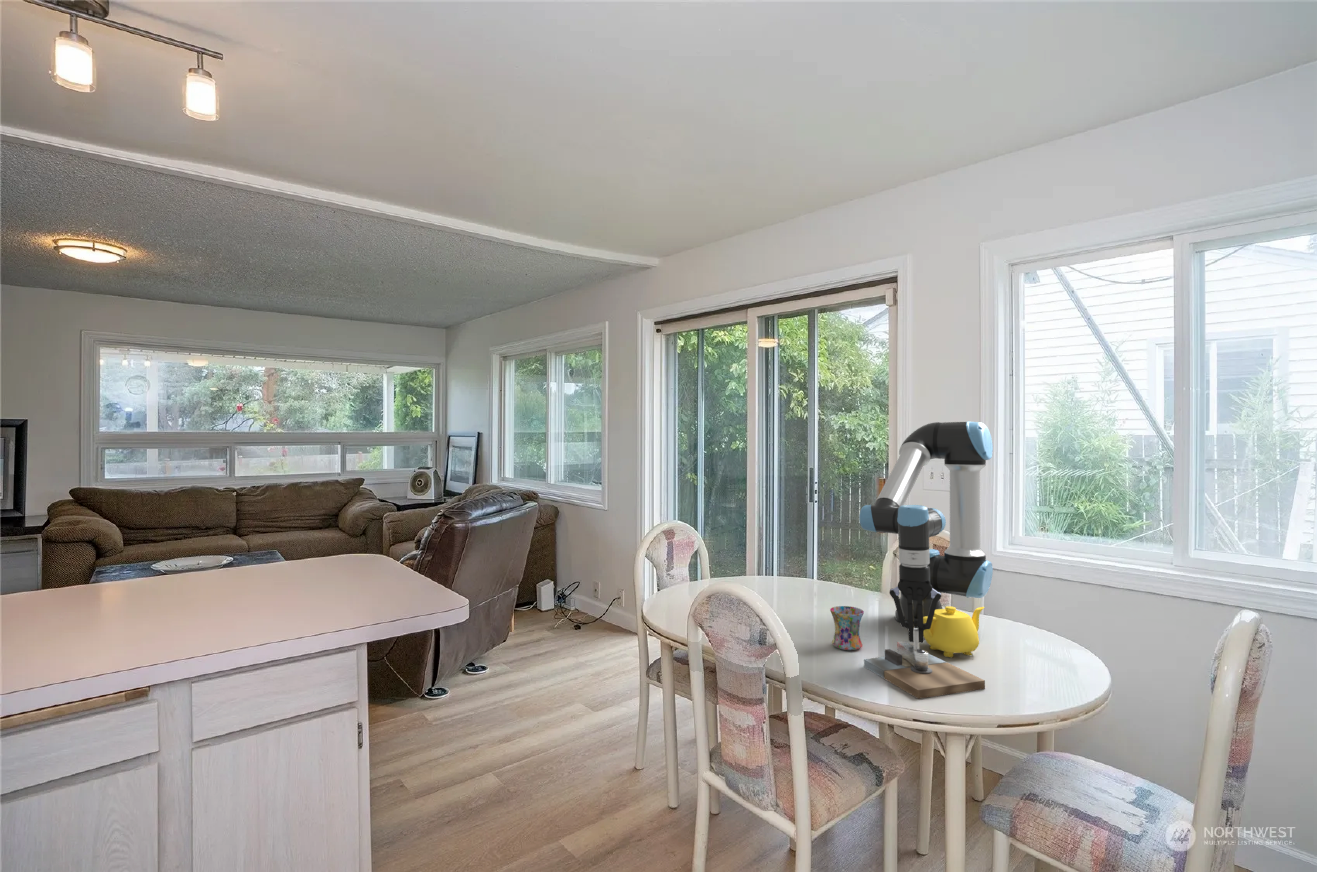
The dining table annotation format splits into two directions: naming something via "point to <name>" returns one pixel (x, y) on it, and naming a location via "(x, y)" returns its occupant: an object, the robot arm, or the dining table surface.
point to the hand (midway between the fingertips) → (916, 654)
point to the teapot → (953, 631)
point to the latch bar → (913, 655)
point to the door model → (923, 676)
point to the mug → (847, 627)
